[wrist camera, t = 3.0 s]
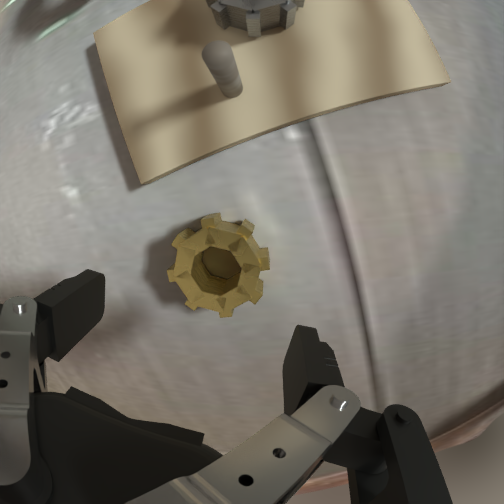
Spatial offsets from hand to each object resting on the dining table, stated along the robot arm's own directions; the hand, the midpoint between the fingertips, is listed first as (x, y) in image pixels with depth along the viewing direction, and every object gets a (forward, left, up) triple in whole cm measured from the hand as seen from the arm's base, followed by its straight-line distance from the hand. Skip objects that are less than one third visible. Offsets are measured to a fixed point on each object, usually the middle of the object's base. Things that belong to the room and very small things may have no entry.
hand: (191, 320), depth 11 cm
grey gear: (+9, +16, -9) cm, 20 cm away
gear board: (+9, +14, -10) cm, 19 cm away
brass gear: (0, 0, -10) cm, 10 cm away
